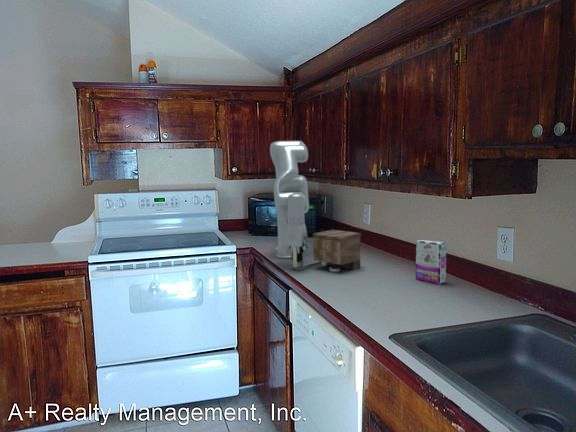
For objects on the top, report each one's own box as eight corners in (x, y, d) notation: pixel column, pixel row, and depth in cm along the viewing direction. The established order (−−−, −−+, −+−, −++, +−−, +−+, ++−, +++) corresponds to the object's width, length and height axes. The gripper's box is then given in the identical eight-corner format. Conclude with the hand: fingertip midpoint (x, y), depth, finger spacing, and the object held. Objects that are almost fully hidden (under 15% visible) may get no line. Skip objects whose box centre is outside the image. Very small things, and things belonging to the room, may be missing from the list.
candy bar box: (446, 282, 172) (447, 242, 170) (439, 285, 168) (440, 243, 166) (421, 277, 180) (422, 238, 178) (414, 279, 177) (415, 240, 175)
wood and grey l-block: (292, 269, 198) (291, 245, 196) (315, 263, 209) (314, 239, 207) (298, 271, 195) (297, 246, 194) (321, 264, 206) (321, 240, 205)
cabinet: (311, 268, 199) (311, 234, 197) (333, 262, 210) (333, 229, 208) (339, 274, 187) (339, 238, 185) (361, 267, 198) (361, 233, 196)
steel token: (327, 271, 194) (327, 268, 194) (333, 268, 198) (333, 265, 198) (336, 273, 191) (336, 269, 191) (342, 270, 195) (342, 267, 195)
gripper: (278, 220, 198) (279, 259, 200) (303, 223, 186) (304, 265, 189) (289, 218, 203) (290, 257, 205) (315, 221, 191) (315, 262, 194)
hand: (297, 260), depth 197 cm, fingers closed on wood and grey l-block, 2 cm apart
